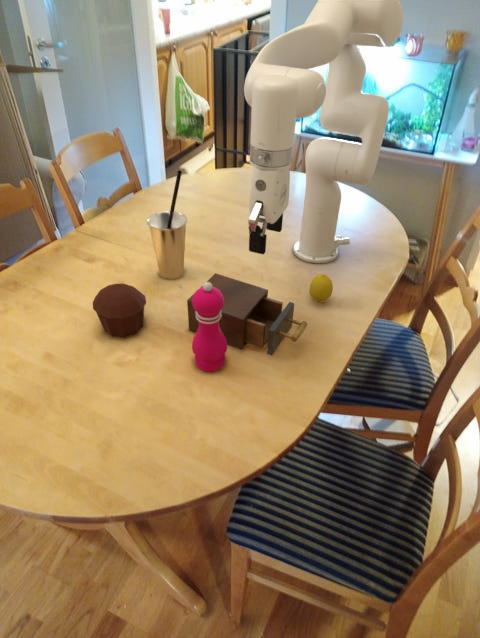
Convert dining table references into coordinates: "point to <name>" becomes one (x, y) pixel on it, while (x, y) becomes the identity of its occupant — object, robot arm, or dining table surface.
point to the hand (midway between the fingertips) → (265, 240)
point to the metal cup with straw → (169, 238)
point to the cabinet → (231, 307)
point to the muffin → (120, 309)
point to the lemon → (321, 288)
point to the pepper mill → (209, 329)
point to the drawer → (271, 325)
